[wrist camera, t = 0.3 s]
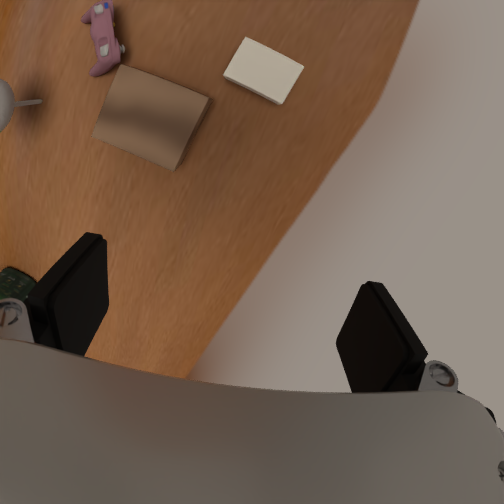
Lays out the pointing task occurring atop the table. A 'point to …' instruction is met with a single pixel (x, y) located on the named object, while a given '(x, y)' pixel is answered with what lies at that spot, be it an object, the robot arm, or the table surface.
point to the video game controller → (103, 36)
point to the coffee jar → (15, 284)
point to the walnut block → (150, 117)
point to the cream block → (263, 71)
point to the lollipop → (10, 103)
